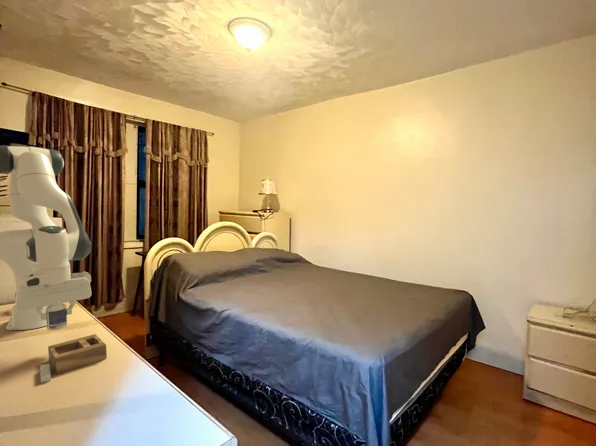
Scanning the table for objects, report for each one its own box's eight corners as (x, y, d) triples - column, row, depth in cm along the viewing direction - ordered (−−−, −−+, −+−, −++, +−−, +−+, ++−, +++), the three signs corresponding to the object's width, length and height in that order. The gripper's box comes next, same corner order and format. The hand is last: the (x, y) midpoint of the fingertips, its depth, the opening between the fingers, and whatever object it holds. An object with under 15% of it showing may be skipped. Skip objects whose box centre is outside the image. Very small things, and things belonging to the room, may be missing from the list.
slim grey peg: (40, 372, 97) (39, 365, 96) (49, 370, 98) (49, 363, 98) (41, 384, 90) (40, 376, 90) (51, 381, 92) (50, 374, 92)
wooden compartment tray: (48, 360, 104) (48, 346, 103) (95, 346, 113) (95, 334, 113) (56, 373, 95) (55, 358, 95) (106, 358, 105) (106, 344, 104)
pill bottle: (70, 325, 111) (69, 297, 110) (54, 332, 106) (53, 302, 105) (59, 323, 113) (58, 296, 112) (43, 329, 108) (41, 300, 107)
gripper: (88, 269, 118) (89, 307, 119) (12, 279, 103) (15, 322, 104) (93, 272, 113) (94, 311, 114) (15, 283, 99) (18, 328, 100)
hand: (56, 316), depth 109 cm, fingers closed on pill bottle, 5 cm apart
